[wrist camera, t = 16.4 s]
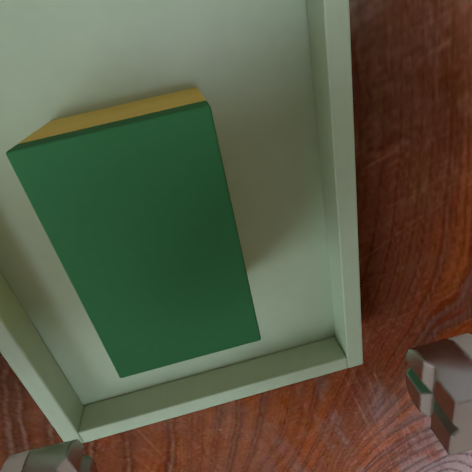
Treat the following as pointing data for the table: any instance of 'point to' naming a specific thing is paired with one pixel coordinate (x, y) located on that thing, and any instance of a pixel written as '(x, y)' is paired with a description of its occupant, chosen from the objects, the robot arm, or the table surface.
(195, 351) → the sponge
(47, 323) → the tray
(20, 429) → the table surface
